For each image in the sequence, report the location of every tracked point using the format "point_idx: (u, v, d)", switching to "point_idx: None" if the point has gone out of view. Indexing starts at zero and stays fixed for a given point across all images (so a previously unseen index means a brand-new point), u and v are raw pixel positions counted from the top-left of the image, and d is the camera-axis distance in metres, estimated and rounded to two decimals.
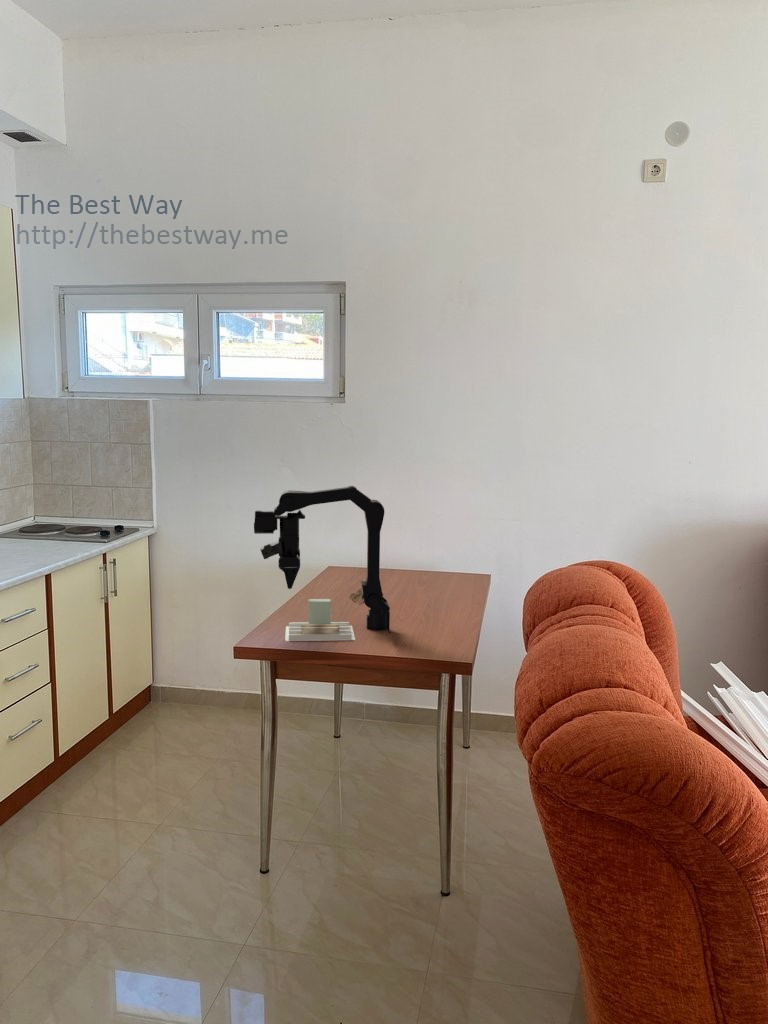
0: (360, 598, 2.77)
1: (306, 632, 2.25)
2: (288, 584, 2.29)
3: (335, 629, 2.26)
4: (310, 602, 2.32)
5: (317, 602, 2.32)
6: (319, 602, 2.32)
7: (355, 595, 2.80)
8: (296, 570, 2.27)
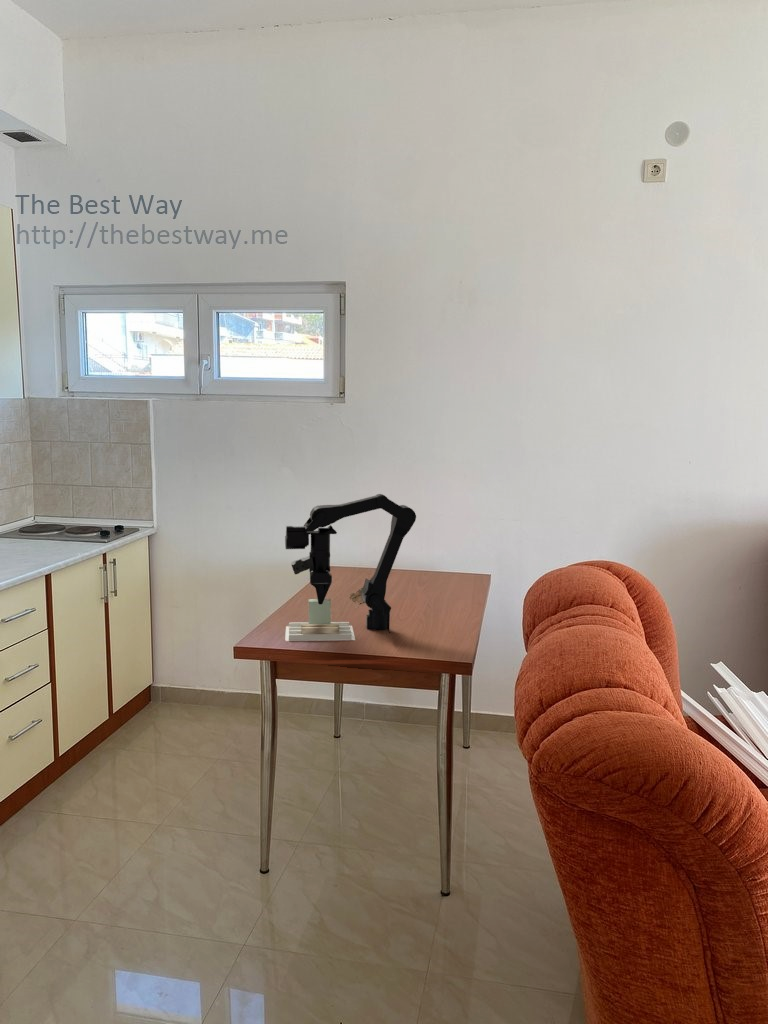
0: (360, 598, 2.77)
1: (306, 632, 2.25)
2: (319, 600, 2.28)
3: (335, 629, 2.26)
4: (310, 602, 2.32)
5: (317, 602, 2.32)
6: None
7: (355, 595, 2.80)
8: (327, 586, 2.27)
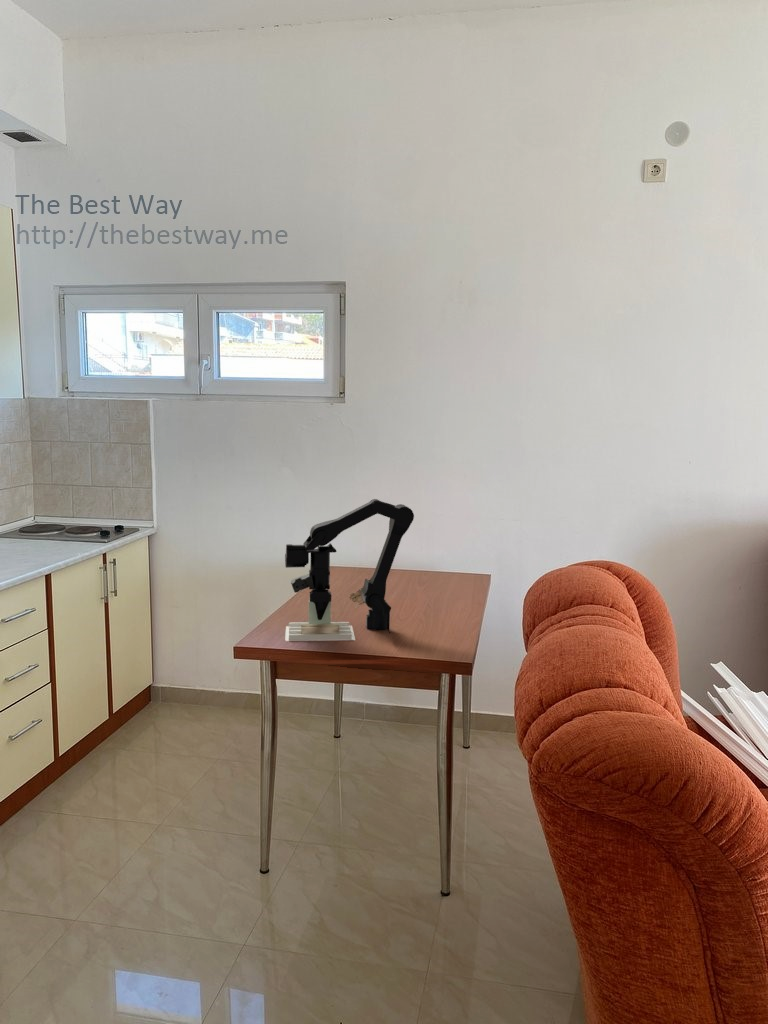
0: (360, 598, 2.77)
1: (306, 632, 2.25)
2: (318, 615, 2.32)
3: (335, 629, 2.26)
4: (310, 602, 2.32)
5: None
6: None
7: (355, 595, 2.80)
8: (326, 602, 2.30)
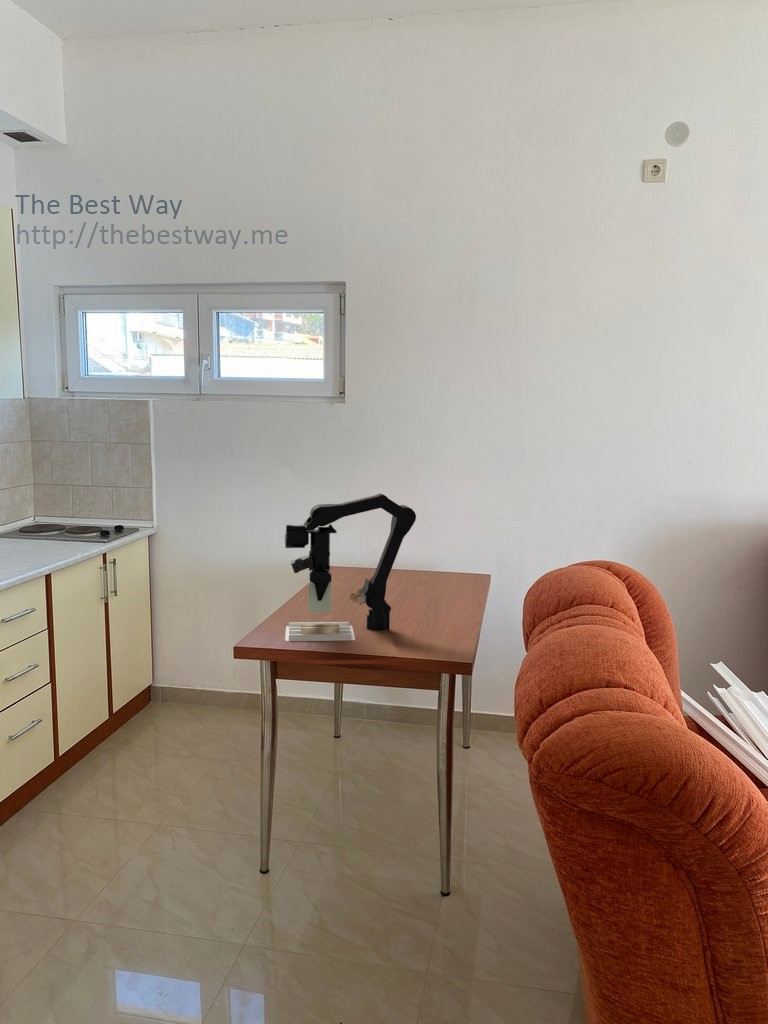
0: (360, 598, 2.77)
1: (306, 632, 2.25)
2: (318, 596, 2.31)
3: (335, 629, 2.26)
4: (310, 583, 2.31)
5: None
6: None
7: (355, 595, 2.80)
8: (326, 582, 2.29)
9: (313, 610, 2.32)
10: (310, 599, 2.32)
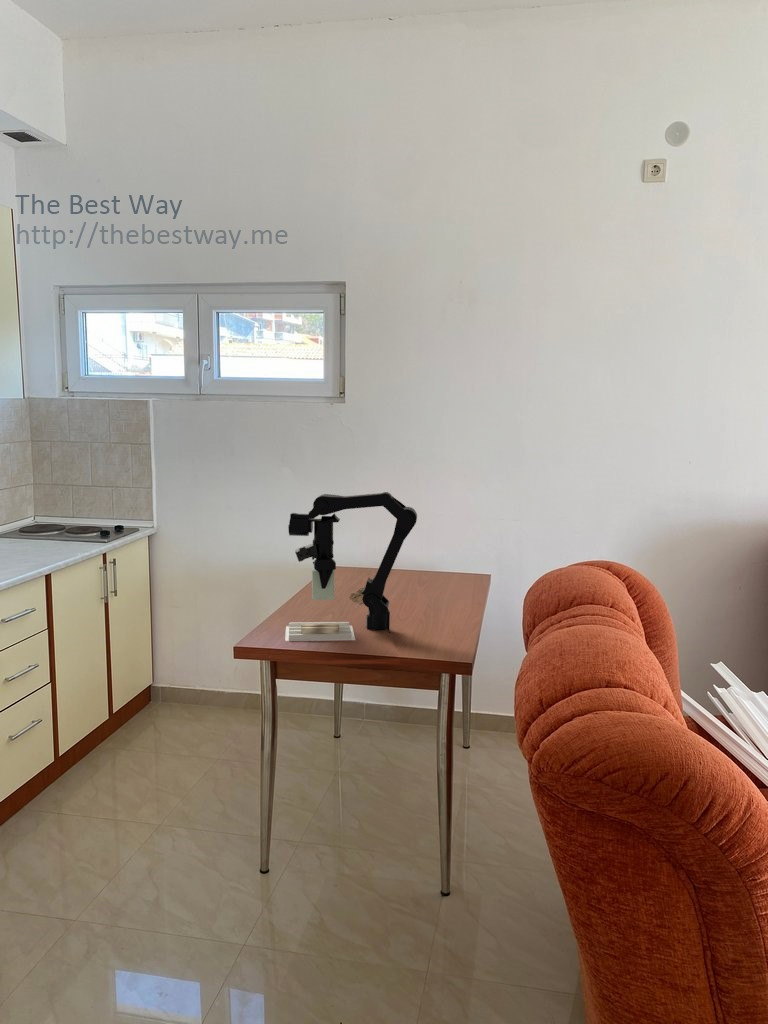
0: (360, 598, 2.77)
1: (306, 632, 2.25)
2: (322, 584, 2.35)
3: (335, 629, 2.26)
4: (314, 571, 2.35)
5: None
6: None
7: (355, 595, 2.80)
8: (330, 570, 2.33)
9: (317, 598, 2.36)
10: (314, 587, 2.36)
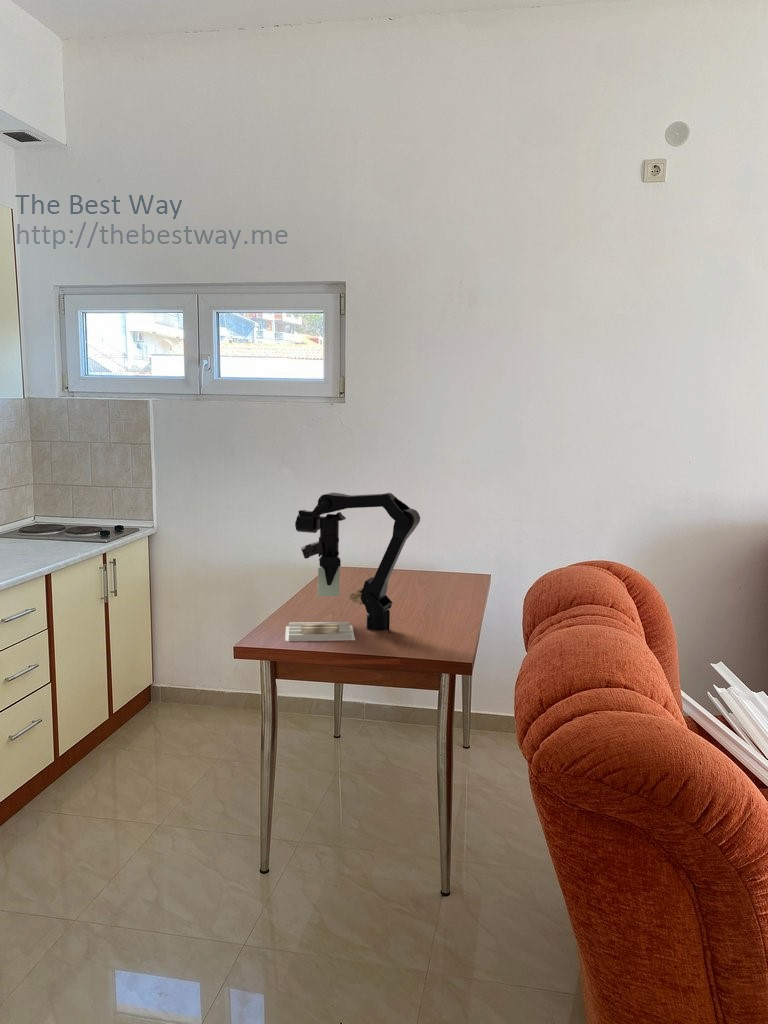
0: (360, 598, 2.77)
1: (306, 632, 2.25)
2: (328, 581, 2.39)
3: (335, 629, 2.26)
4: (319, 568, 2.39)
5: None
6: None
7: (355, 595, 2.80)
8: (336, 567, 2.38)
9: (323, 594, 2.40)
10: (320, 584, 2.40)
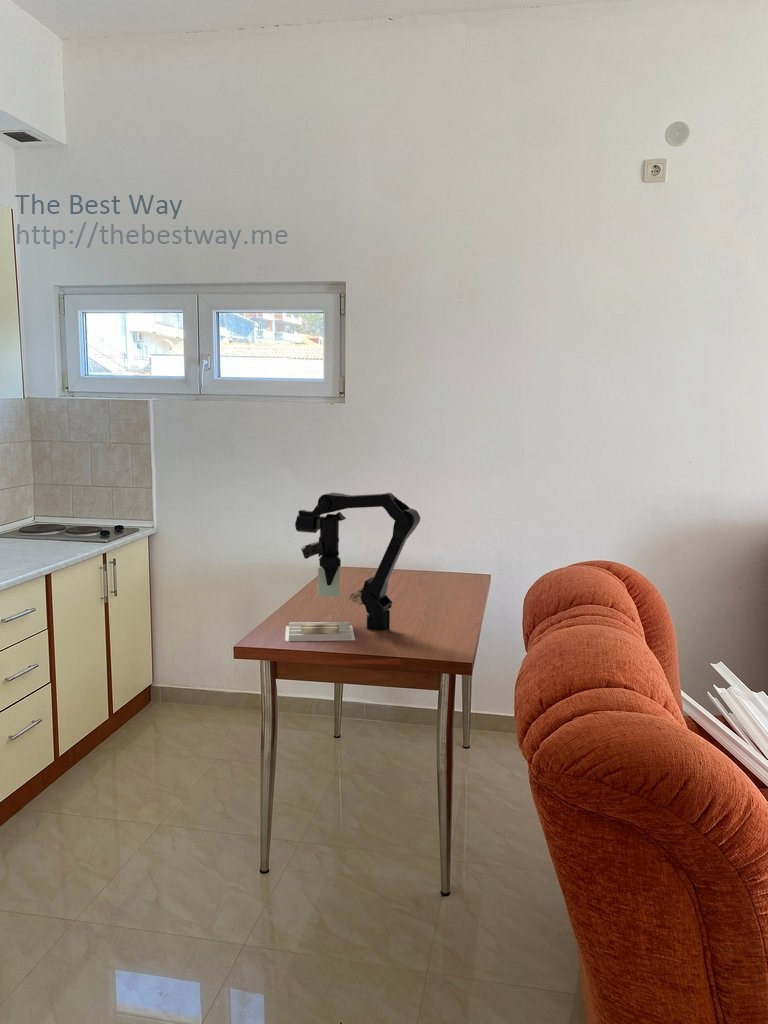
0: (360, 598, 2.77)
1: (306, 632, 2.25)
2: (328, 581, 2.39)
3: (335, 629, 2.26)
4: (319, 568, 2.39)
5: None
6: None
7: (355, 595, 2.80)
8: (336, 567, 2.38)
9: (323, 594, 2.40)
10: (320, 584, 2.40)
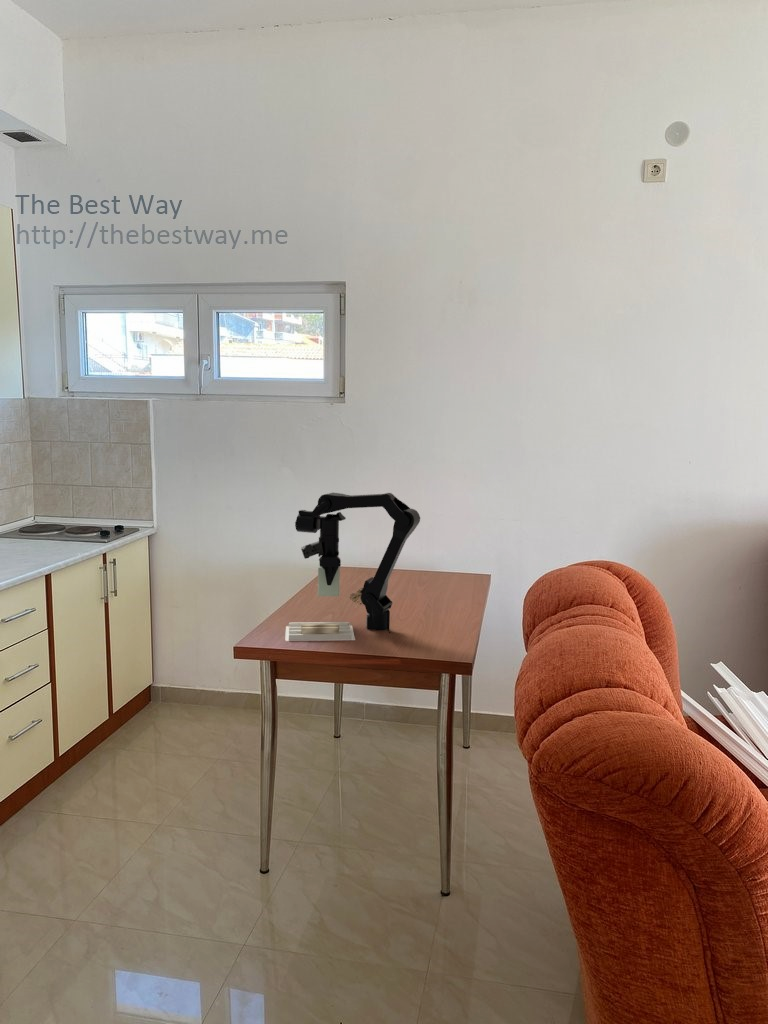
0: (360, 598, 2.77)
1: (306, 632, 2.25)
2: (328, 581, 2.39)
3: (335, 629, 2.26)
4: (319, 568, 2.39)
5: None
6: None
7: (355, 595, 2.80)
8: (336, 567, 2.38)
9: (323, 594, 2.40)
10: (320, 584, 2.40)
